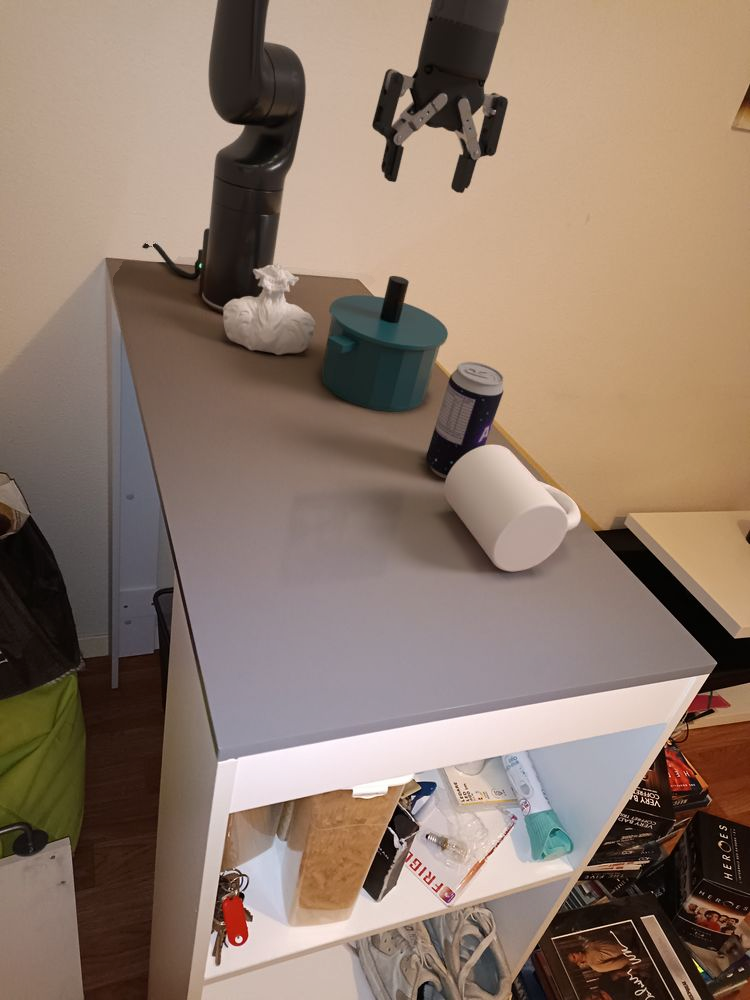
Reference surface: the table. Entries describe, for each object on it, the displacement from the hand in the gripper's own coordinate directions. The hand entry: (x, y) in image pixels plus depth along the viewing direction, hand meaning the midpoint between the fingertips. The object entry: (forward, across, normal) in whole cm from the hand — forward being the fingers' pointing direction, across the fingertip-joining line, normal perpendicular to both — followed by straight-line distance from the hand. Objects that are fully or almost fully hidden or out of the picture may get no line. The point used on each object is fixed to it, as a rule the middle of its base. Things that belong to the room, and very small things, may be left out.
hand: (423, 185), depth 84 cm
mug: (+24, -2, +34) cm, 42 cm away
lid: (+16, +1, +2) cm, 16 cm away
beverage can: (+24, -1, +22) cm, 33 cm away
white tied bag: (+25, +13, -8) cm, 29 cm away
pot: (+24, +1, +2) cm, 25 cm away
